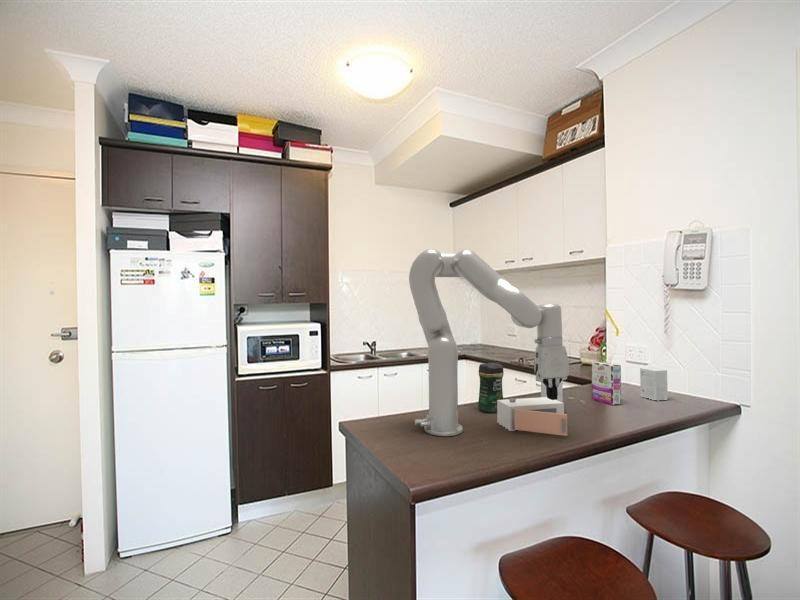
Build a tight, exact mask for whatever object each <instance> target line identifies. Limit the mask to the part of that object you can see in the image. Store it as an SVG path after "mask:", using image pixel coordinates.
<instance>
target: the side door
mask: <svg viewBox="0 0 800 600" xmlns="http://www.w3.org/2000/svg"><path fill="white" fill-rule="evenodd" d="M512 429H513V430H518V431H523V432H524V431H525V432H531V433H538V434H539V433H541V434H549V435H557V436H566V437H567V436H568V413H567V414H561V413H550V412H540V411H530V410H520V409H512Z"/></svg>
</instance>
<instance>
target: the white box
mask: <svg viewBox="0 0 800 600" xmlns="http://www.w3.org/2000/svg"><path fill="white" fill-rule="evenodd" d="M512 409H520V410H530V411H540V412H550V413H561V414H567V415H568V413H567V409H566V406H565V402H563V403H562V402H560V401H557V400H555V399H554V400H551V399H548V398H547V397H541V396H540V397H529V398H528V397H526V398H515V397H511V398H508V399H503V400H497V412H496V414H497V415H496V416H497V420H496V421H497V424H498V423H499V424H498V425H500V426H501V425H502V426H501V427H502V428H504V427H505V429H506V430H507V429H508V430H507V431H508V432H515V430H513V429H512Z"/></svg>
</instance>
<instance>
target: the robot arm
mask: <svg viewBox="0 0 800 600" xmlns="http://www.w3.org/2000/svg"><path fill="white" fill-rule="evenodd" d="M436 278H463V279H465V280H466V281H467V282H468V283H469V284H470V285H471V286H472V287H473V288H474V289H476V291H478V292H479V293H480V294H481V295H482V296H483V297H484V298H486V299H488V300H490V301H491V302H493V303H495V304H497V305H498V306H500V307H501V308H502V309H504V310H505V311H506V312H507V313H508V314H509V315H510V317H511V318H510V319H511V320H512V322H513V324H515V325H516V326H518V327H521V328H526V329H533V328H535V327H536V331H537V338H536V339H534V344H536V347H535V351H534V364H533V365H534V366H533V368H534V369H533V371H534V374H535V381H536V382H540V383H541V382H542V383H543V384H544V385H545V386H546V394H547V398H548V399H551V400H554V399H555V400H557V396H558V390H557V387H559V384H560V383H561V381H562V382H563V381H566V380H567V379H568V377H569V375H570V364H569V357H568V352H567V351H568V350H567V348H566V346H565V345H563V324H562V323H563V322H562V307H561V305H560V304H558V303H542V304H539V305H538V304H536V303H535V302H533V301H532V299H530V298H529V297H528V296H526V294H524V293H523V292H522V291H521V290H519V289H518V288H517V287H515V286H514V285H513V284H511V283H510V282H509V281H508V280H507V279H506V278H504V277H503V276H501V274H499V273H498V272H497V271H496V270H494V269H493V268H492V267H491V266H490V264H488V263H487V262H485V260H483V259H482V258H481V256H479V255H478V254H477V253H476V252H475V251H473V250H471V249H461V250H460V251H459V252H457V253H441V252H440V251H439V250H437V249H434V248H429V249H428V248H427V249H426V250H423V251H422V252H420V253H419V254H418V255H417V257H416V258H415V259H414V261H413V262H412V264H411V266H410V270H409V275H408V284H409V288H410V292H411V296H412V299H413V302H414V306H415V308H416V313H417V316H418V321H419V324H420V326H421V328H422V331H423V334H424V338H425V340H426V343H427V346H428V347H427V349H428V350H427V357H428V365H427V366H428V414H426V417H424V418H417V419H416V418H415V419H414V425H415V426H420V427H424V428H423V429H424V431H425V432H426V433H427V434H429V435H432V436H436V437H437V436H439V437H452V436H458V435H460V434H462V432H463V431H464V429H463V426H462V425H461V424H459V417H458V416H459V405H458V404H459V401H458V398H459V396H458V395H459V394H458V393H459V392H458V389H459V388H458V367H459V366H458V364H459V348H458V345H457V342H456V340H455V339H454V335H453V332H452V329H451V326H450V324H449V320H448V317H447V313H446V312H447V311H446V310H445V308H444V306H443V303H442V301H441V298H440V296H439V291H438V289H437V284H436Z"/></svg>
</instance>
